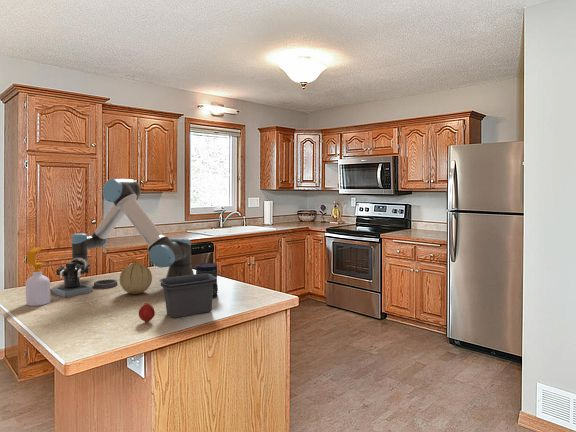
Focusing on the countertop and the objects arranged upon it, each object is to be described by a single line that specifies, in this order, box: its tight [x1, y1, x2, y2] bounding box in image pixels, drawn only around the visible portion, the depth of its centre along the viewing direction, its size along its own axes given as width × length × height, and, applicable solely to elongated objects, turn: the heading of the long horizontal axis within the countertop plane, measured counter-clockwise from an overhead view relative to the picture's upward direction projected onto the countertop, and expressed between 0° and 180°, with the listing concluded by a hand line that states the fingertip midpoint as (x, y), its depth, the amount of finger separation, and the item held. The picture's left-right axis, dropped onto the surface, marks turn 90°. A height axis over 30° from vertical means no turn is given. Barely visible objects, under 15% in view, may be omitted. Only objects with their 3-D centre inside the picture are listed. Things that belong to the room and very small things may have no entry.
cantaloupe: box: [119, 261, 153, 295], centre depth 202 cm, size 15×15×15 cm
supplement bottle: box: [63, 261, 81, 289], centre depth 203 cm, size 7×7×12 cm
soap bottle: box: [25, 246, 51, 307], centre depth 185 cm, size 9×9×25 cm
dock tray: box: [51, 282, 93, 298], centre depth 204 cm, size 13×13×2 cm
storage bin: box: [159, 273, 216, 319], centre depth 173 cm, size 21×16×14 cm
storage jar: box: [195, 262, 219, 300], centre depth 197 cm, size 10×10×15 cm
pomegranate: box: [138, 301, 156, 323], centre depth 160 cm, size 6×6×8 cm
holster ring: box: [93, 279, 118, 289], centre depth 217 cm, size 11×11×2 cm
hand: (69, 274), depth 199 cm, fingers closed on supplement bottle, 7 cm apart
